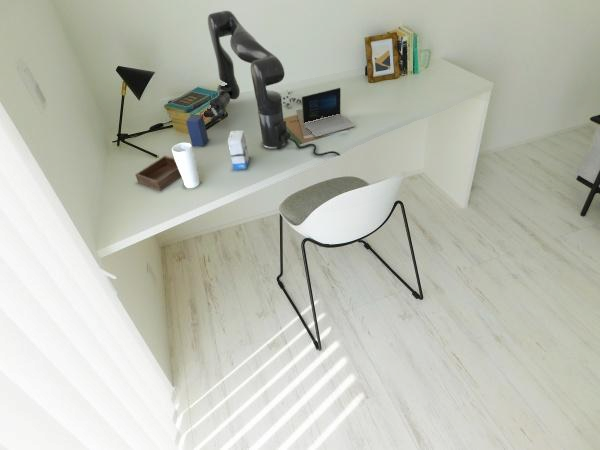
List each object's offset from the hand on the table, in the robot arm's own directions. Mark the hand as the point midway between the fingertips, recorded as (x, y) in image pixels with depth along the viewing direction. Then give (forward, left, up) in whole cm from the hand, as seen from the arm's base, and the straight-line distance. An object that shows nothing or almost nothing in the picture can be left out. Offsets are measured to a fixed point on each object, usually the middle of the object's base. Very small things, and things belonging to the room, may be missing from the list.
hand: (202, 121), depth 165 cm
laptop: (-44, -28, -7) cm, 53 cm away
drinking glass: (-21, +31, -7) cm, 38 cm away
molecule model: (-18, -41, -7) cm, 45 cm away
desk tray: (-7, +31, -7) cm, 33 cm away
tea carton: (-2, +6, -7) cm, 9 cm away
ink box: (-28, +12, -7) cm, 31 cm away
